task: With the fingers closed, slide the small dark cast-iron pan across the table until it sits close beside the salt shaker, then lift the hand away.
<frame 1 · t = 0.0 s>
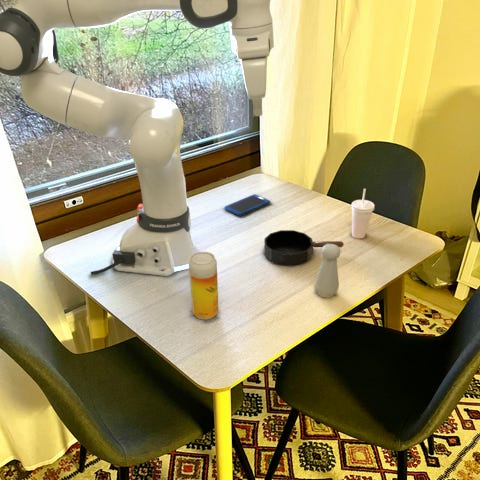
hand: (257, 108, 117), 39 cm above the table, tool pointing down, fingers open, 8 cm apart
cell phone: (247, 206, 165), on the table
salt shaker: (325, 293, 127), on the table
glass of yellow beer: (205, 313, 121), on the table
smoothie: (358, 235, 150), on the table
pan: (287, 253, 142), on the table
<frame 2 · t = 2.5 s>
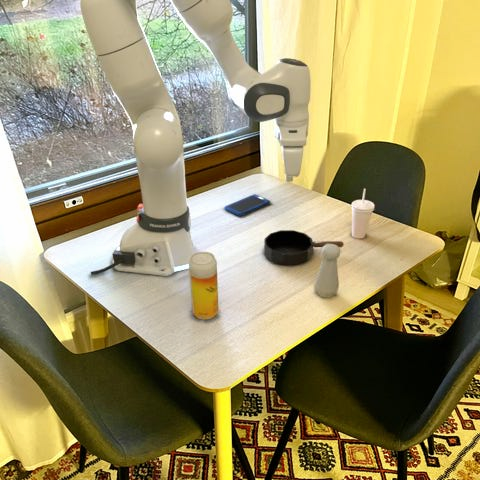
hand: (289, 179, 142), 16 cm above the table, tool pointing down, fingers closed
nothing on the table moved.
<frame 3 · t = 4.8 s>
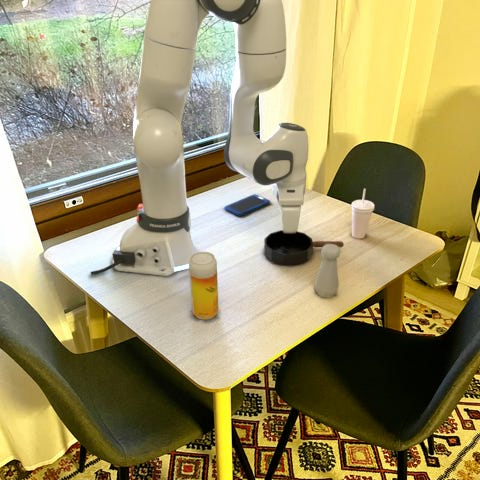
hand: (286, 232, 147), 2 cm above the table, tool pointing down, fingers closed
pan: (287, 253, 142), on the table, touching gripper
everything else where it was.
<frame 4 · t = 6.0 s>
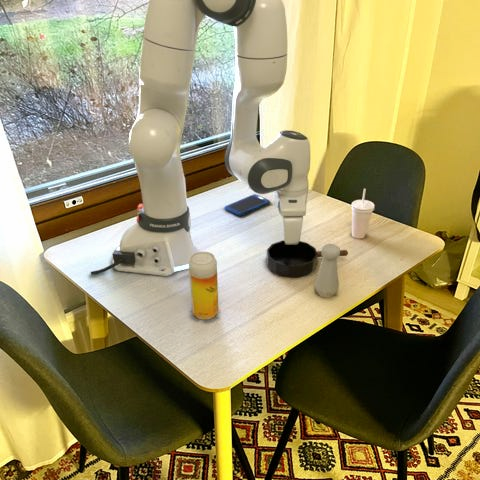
hand: (287, 242, 142), 2 cm above the table, tool pointing down, fingers closed
pan: (291, 264, 138), on the table, touching gripper
everything else where it was.
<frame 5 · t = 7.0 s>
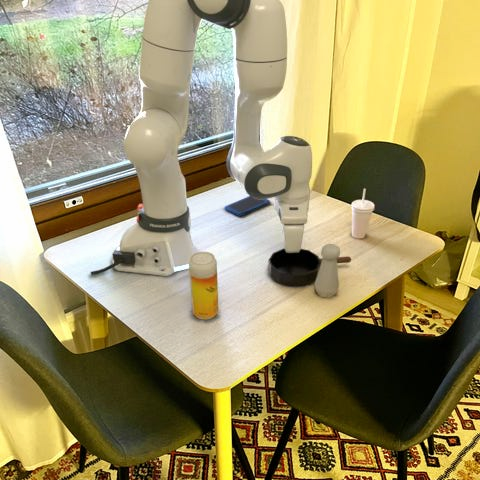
hand: (288, 250, 139), 2 cm above the table, tool pointing down, fingers closed
pan: (293, 272, 134), on the table, touching gripper
everything else where it was.
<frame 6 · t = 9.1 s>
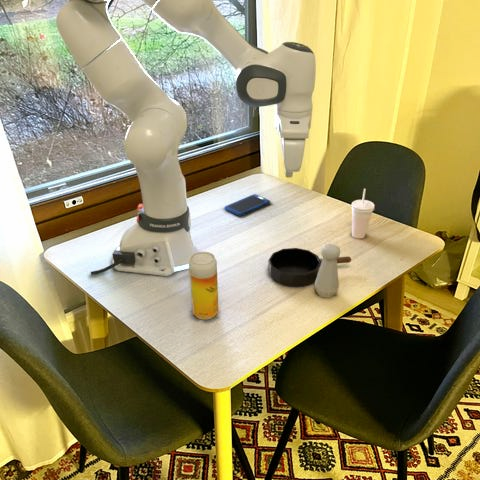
hand: (288, 175, 132), 21 cm above the table, tool pointing down, fingers closed
pan: (294, 273, 134), on the table
everything else where it was.
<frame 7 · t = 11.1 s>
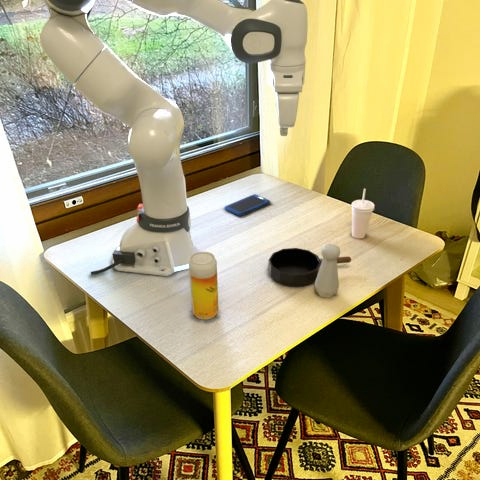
hand: (283, 134, 132), 29 cm above the table, tool pointing down, fingers closed
nothing on the table moved.
at the end: pan 11.6 cm from the salt shaker (horizontally); salt shaker moved 0.2 cm from its start; pan tilted 0° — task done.
